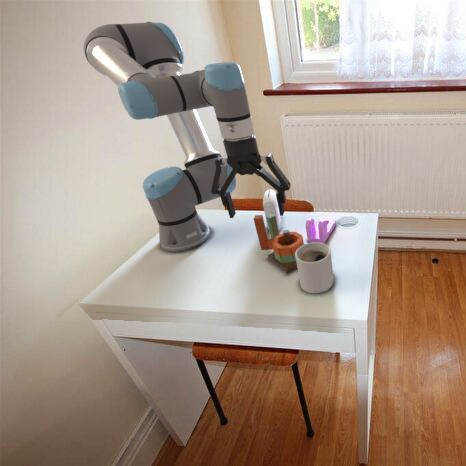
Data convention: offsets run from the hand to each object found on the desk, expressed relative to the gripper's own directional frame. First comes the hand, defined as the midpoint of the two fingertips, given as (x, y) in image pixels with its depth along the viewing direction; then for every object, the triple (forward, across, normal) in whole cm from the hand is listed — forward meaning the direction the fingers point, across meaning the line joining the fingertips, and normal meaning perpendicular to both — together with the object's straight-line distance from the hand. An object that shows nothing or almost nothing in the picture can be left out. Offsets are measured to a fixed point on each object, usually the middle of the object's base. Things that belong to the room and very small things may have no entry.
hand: (257, 214), depth 88 cm
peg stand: (+15, +7, 0) cm, 17 cm away
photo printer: (+16, -2, +20) cm, 25 cm away
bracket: (+16, +15, +14) cm, 26 cm away
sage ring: (+14, +5, +1) cm, 15 cm away
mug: (+15, +16, -10) cm, 24 cm away
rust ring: (+11, +5, 0) cm, 12 cm away
